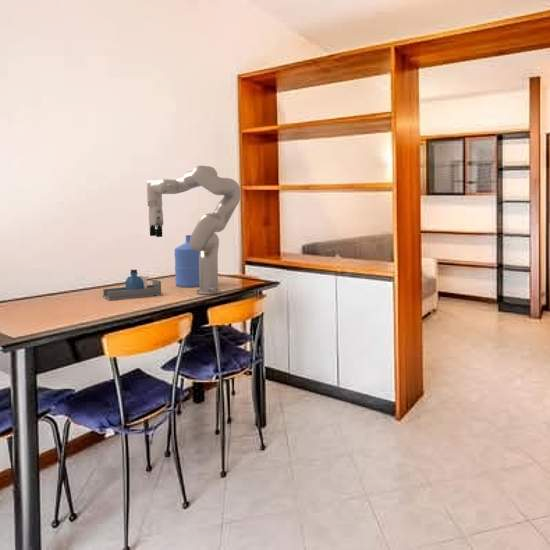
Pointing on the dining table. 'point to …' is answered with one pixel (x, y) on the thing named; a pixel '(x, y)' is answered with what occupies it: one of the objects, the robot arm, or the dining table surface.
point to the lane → (133, 291)
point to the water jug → (186, 265)
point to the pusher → (144, 280)
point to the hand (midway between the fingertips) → (156, 236)
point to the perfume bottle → (134, 281)
